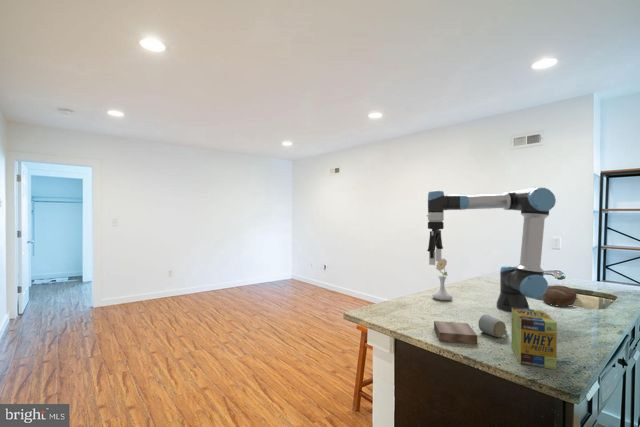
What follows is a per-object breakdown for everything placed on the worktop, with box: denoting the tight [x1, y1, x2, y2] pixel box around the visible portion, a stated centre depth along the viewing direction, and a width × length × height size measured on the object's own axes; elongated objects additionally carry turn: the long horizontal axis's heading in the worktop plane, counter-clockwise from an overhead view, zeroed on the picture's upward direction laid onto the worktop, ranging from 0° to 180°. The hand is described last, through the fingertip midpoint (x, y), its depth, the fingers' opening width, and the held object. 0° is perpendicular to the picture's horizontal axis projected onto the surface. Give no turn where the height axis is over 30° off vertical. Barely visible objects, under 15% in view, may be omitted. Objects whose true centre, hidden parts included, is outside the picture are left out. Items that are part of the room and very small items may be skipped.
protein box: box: [510, 307, 558, 370], centre depth 112 cm, size 10×15×16 cm
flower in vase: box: [432, 258, 453, 301], centre depth 188 cm, size 13×11×25 cm
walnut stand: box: [433, 320, 478, 345], centre depth 132 cm, size 14×14×4 cm
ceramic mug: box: [477, 313, 508, 338], centre depth 134 cm, size 11×8×8 cm
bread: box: [541, 284, 578, 307], centre depth 189 cm, size 16×36×8 cm, turn 137°
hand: (435, 263), depth 160 cm, fingers open, 13 cm apart
